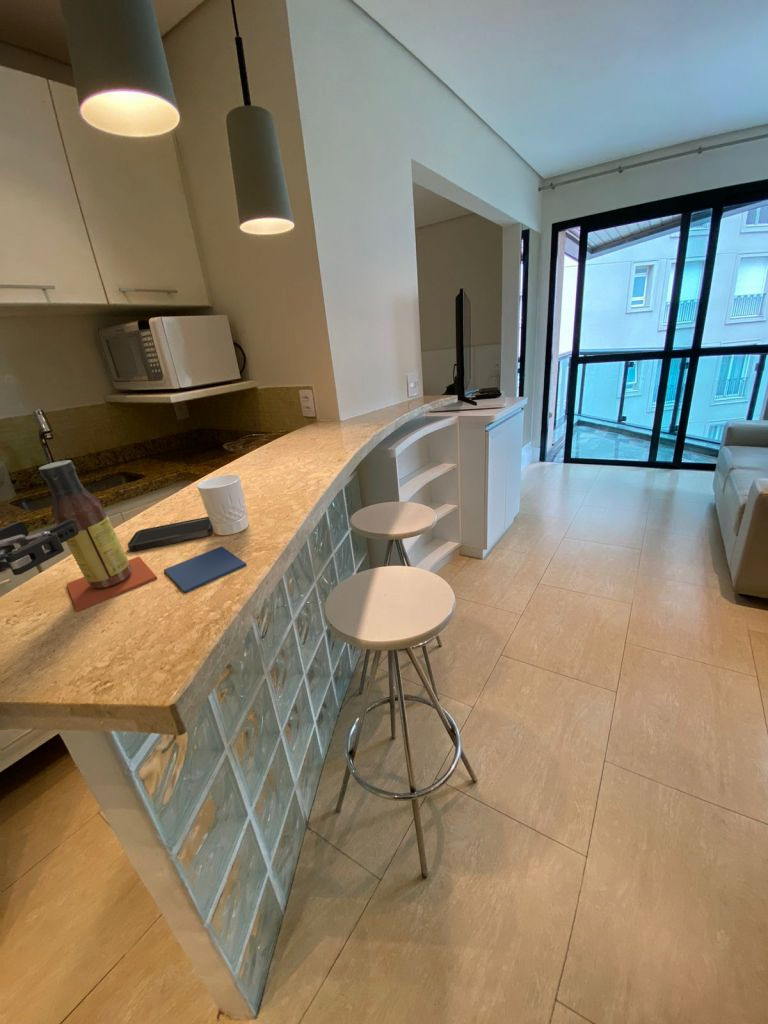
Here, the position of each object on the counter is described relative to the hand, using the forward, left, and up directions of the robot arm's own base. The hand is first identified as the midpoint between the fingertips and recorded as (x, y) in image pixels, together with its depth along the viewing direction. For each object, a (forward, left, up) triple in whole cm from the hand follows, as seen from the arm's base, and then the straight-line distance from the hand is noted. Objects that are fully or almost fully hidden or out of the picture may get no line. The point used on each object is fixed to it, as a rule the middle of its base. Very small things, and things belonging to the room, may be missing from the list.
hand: (48, 527), depth 57 cm
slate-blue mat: (+16, -6, -13) cm, 21 cm away
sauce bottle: (+4, +3, -12) cm, 13 cm away
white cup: (+26, +6, -13) cm, 30 cm away
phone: (+17, +13, -13) cm, 25 cm away
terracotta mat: (+4, +3, -13) cm, 14 cm away
